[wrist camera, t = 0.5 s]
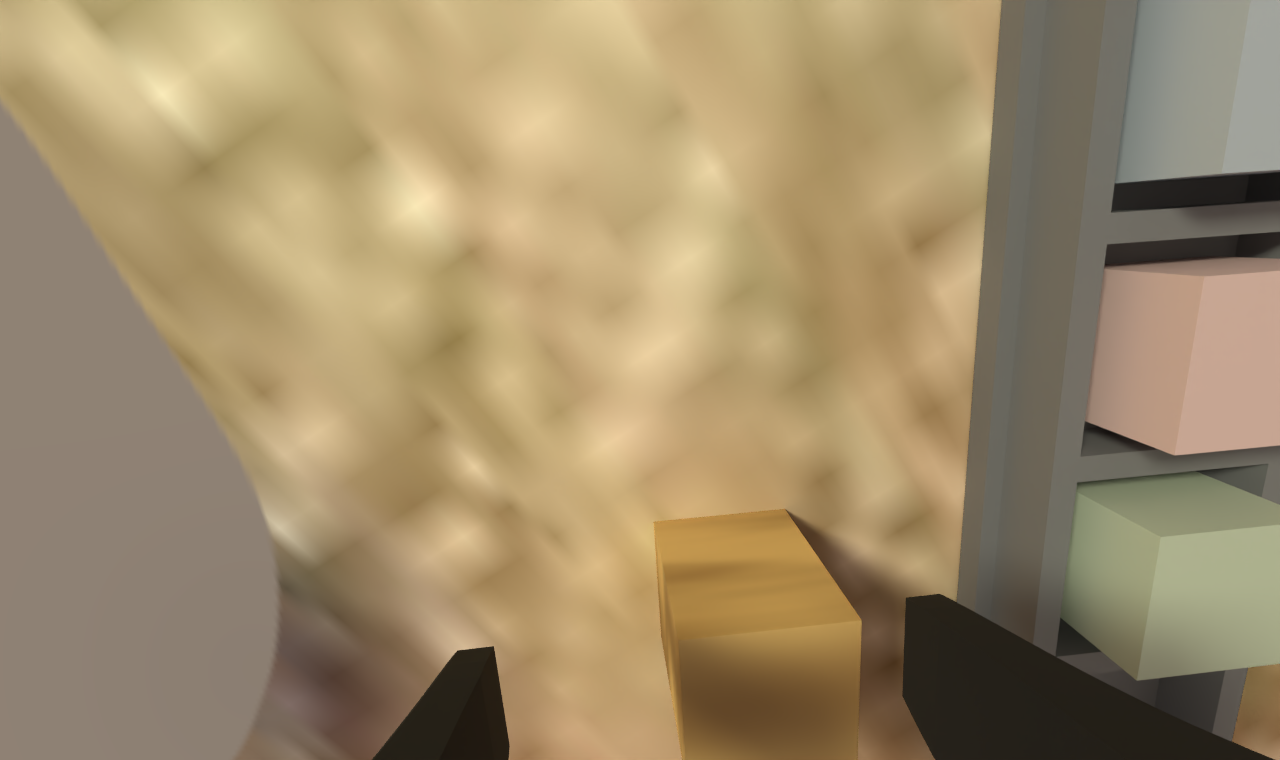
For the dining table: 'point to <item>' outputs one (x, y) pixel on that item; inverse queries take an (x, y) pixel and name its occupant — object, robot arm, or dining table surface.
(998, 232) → the five-cell board
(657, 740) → the dining table surface
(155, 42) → the dining table surface
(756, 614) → the ochre block
